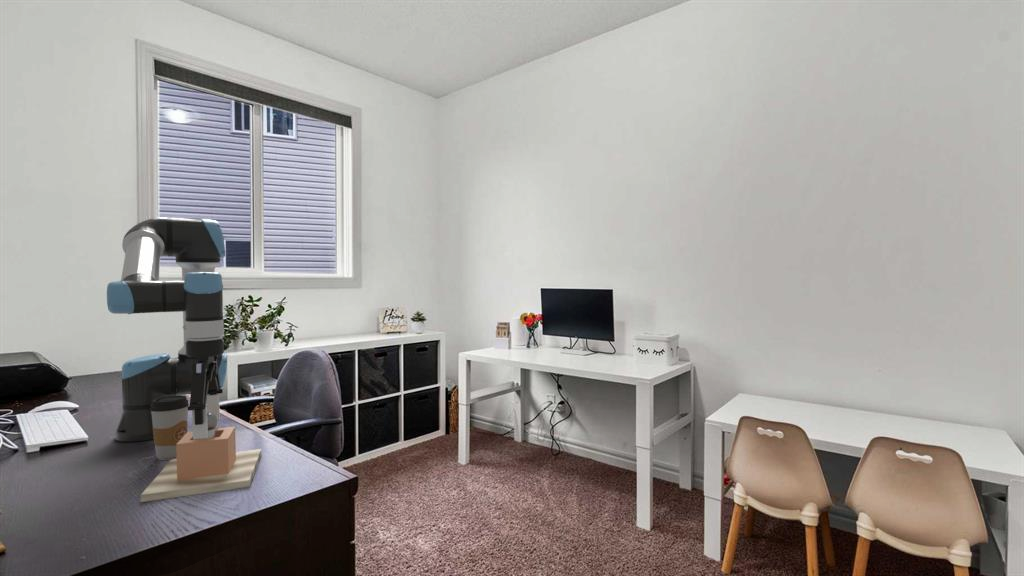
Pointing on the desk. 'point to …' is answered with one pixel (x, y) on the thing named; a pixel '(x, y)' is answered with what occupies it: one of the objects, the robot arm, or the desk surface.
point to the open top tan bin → (206, 454)
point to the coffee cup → (169, 424)
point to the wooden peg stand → (171, 487)
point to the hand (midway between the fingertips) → (207, 429)
